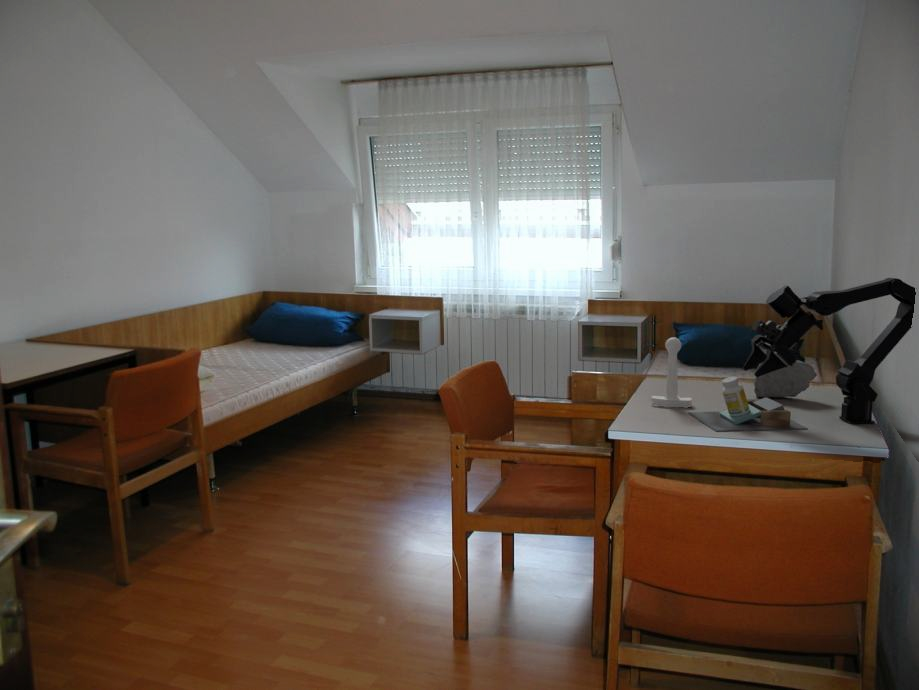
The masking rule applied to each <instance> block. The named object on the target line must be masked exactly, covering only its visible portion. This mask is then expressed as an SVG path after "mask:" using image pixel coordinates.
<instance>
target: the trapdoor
mask: <svg viewBox="0 0 919 690" xmlns="http://www.w3.org/2000/svg"><path fill="white" fill-rule="evenodd" d="M759 399H760V400H757V401H755V402H752V403H753V406H754V407H753V406H751V405H749V404H748V405H749V409H750V410H749V412H748V413H746V414H744V415H741V416H731V415H730V414H729V412H728V408H727V409H725V410H722V411H718V412H719V414H720V416H721V417H723V418H725V419H726V420H728V421H729V422H731V423H733V424H734V425H736V424H739V423H742V422H744V421H747V420H750V419H752V418H755V417H758V416H760V415H761V411H767V410H785V406H784V405H783V404H781V403H779V402H778V401H775V400H773V399H771V398H770V397H762V398H759Z"/></svg>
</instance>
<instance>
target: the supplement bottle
mask: <svg viewBox="0 0 919 690" xmlns="http://www.w3.org/2000/svg"><path fill="white" fill-rule="evenodd" d="M721 382H722V386H723V388H722V390H721V391H722V395H723V399H724V401H725V405H726V408H727V409H728V412H729V414H730V415H731V416H741V415H744V414H746V413H748V412H749V410H750V409H749V405H748V402H747V400H748V398H747V396H746V392H745V390H744V386H743V385H742V384H741V383H739V382H740V381H739V379H738V377H737V376H729V377H725V378H724V379H722V381H721Z"/></svg>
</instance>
